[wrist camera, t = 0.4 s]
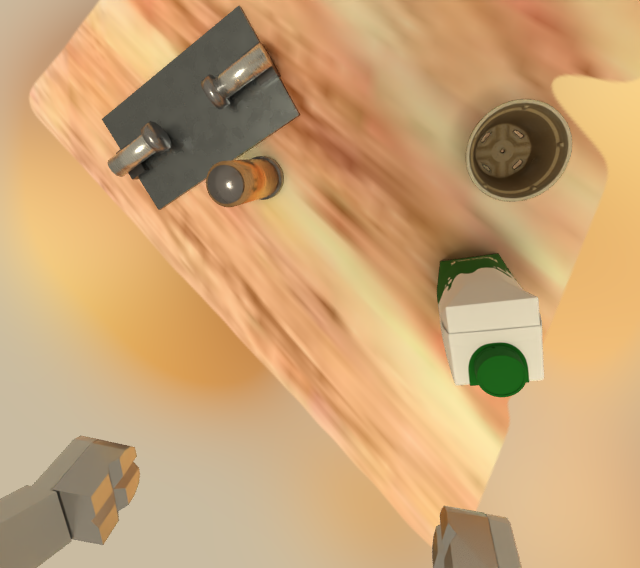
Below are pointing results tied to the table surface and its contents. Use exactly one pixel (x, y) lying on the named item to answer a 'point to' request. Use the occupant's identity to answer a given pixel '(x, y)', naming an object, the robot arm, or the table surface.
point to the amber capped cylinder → (244, 181)
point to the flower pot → (519, 150)
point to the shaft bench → (199, 111)
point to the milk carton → (489, 325)
